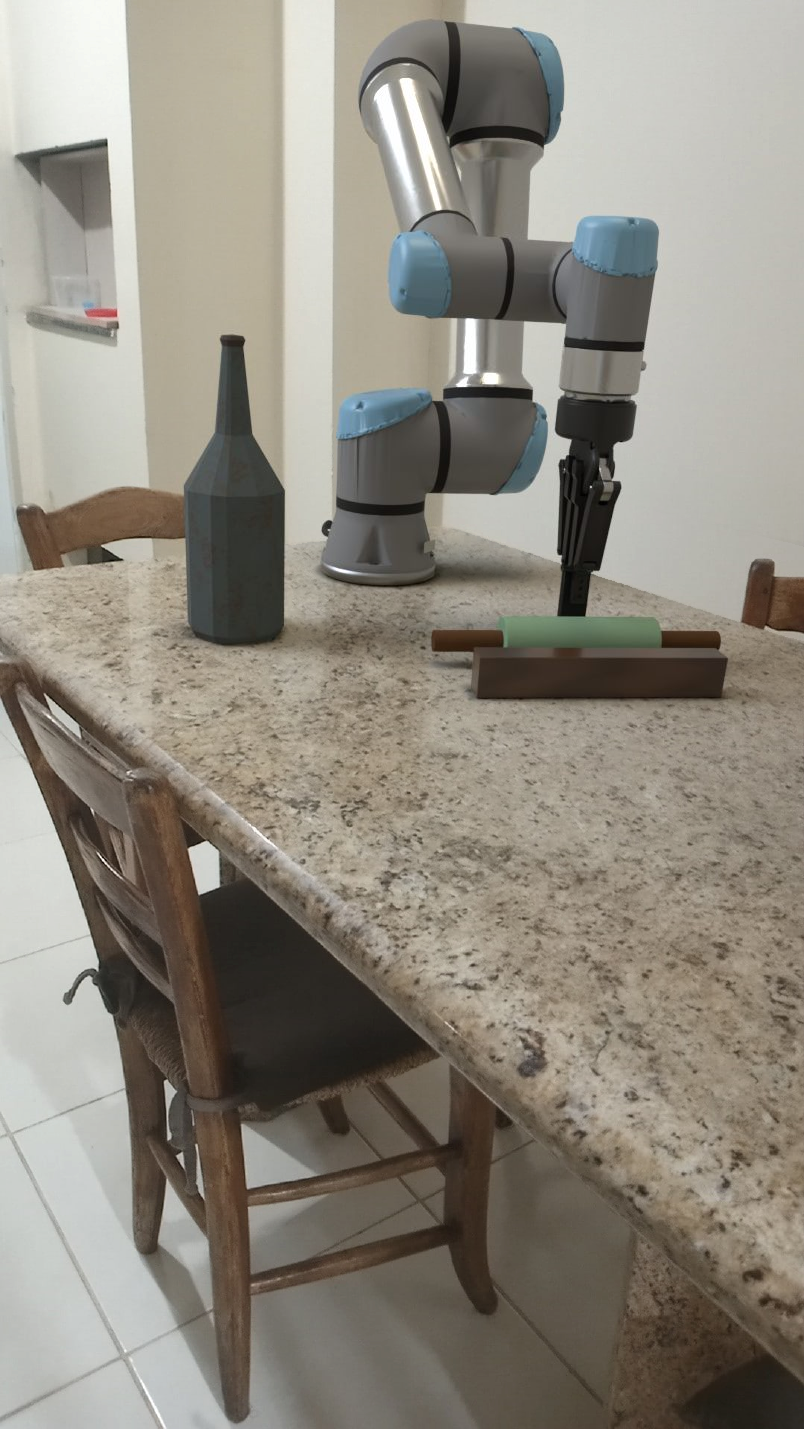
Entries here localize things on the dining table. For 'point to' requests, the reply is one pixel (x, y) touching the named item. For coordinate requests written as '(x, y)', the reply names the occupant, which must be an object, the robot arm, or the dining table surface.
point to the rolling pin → (573, 634)
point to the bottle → (234, 523)
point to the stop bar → (597, 672)
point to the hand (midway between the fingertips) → (569, 629)
